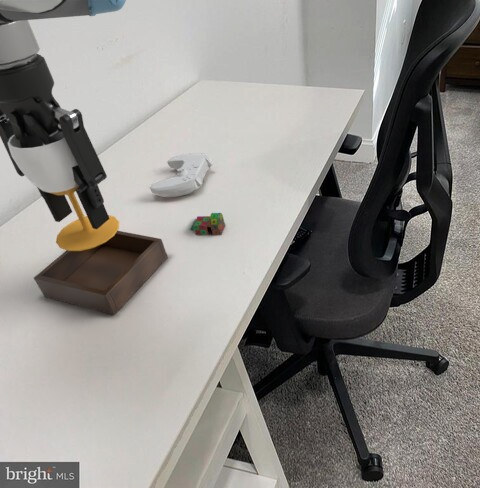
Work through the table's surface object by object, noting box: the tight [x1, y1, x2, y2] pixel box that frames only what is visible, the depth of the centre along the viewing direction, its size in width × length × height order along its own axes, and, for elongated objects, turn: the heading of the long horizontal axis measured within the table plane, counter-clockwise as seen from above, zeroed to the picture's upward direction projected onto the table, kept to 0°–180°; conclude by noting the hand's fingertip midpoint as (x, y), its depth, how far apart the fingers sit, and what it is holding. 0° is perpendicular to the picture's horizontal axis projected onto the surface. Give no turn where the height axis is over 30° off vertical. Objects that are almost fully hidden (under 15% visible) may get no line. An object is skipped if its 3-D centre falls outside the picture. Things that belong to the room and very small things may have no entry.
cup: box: [8, 130, 120, 251], centre depth 67 cm, size 9×9×16 cm
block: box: [190, 212, 226, 236], centre depth 85 cm, size 6×4×3 cm
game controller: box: [149, 152, 214, 198], centre depth 99 cm, size 14×4×10 cm
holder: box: [33, 230, 169, 316], centre depth 76 cm, size 14×14×4 cm
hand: (82, 219), depth 71 cm, fingers closed on cup, 6 cm apart
